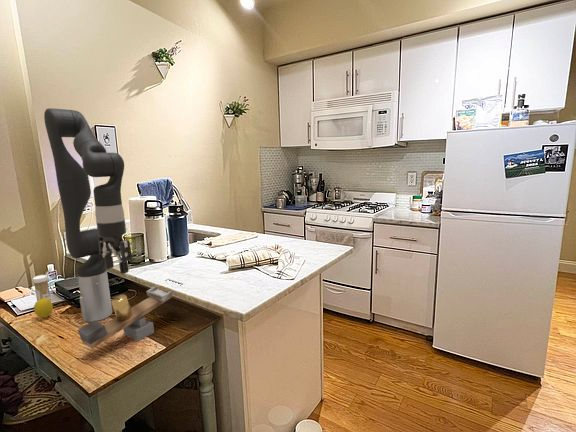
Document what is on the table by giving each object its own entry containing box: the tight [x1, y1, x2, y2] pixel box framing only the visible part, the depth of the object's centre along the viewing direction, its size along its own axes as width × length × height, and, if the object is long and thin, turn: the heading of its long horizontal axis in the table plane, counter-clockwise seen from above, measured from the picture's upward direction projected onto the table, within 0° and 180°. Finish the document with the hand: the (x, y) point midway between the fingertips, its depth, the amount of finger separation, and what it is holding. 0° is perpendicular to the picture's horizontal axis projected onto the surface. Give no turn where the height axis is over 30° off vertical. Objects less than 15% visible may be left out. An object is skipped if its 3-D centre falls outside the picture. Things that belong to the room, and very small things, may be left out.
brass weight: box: [111, 294, 132, 322], centre depth 99 cm, size 4×4×7 cm
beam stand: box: [123, 315, 155, 342], centre depth 105 cm, size 6×8×6 cm
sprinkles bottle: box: [32, 274, 52, 302], centre depth 124 cm, size 5×5×13 cm
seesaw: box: [77, 278, 184, 349], centre depth 103 cm, size 33×9×4 cm, turn 146°
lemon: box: [33, 298, 54, 319], centre depth 116 cm, size 6×6×8 cm
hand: (117, 270), depth 97 cm, fingers open, 8 cm apart
